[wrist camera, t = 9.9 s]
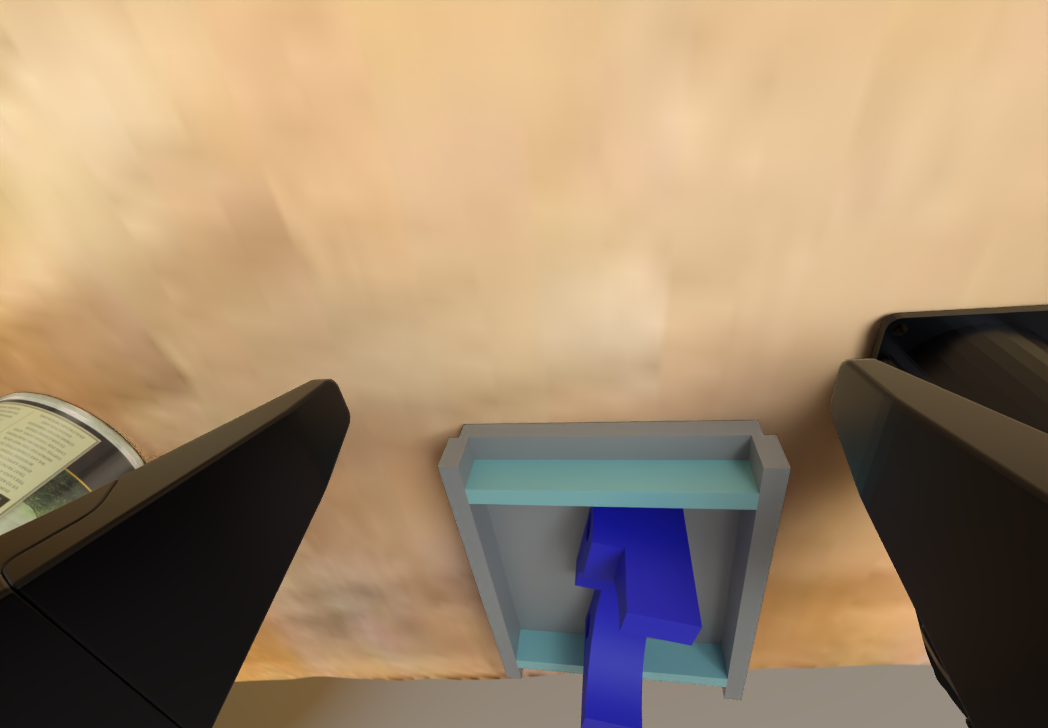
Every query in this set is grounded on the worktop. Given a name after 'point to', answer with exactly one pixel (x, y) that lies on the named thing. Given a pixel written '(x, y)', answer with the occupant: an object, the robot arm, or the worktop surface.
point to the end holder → (616, 481)
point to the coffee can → (53, 456)
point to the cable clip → (631, 604)
